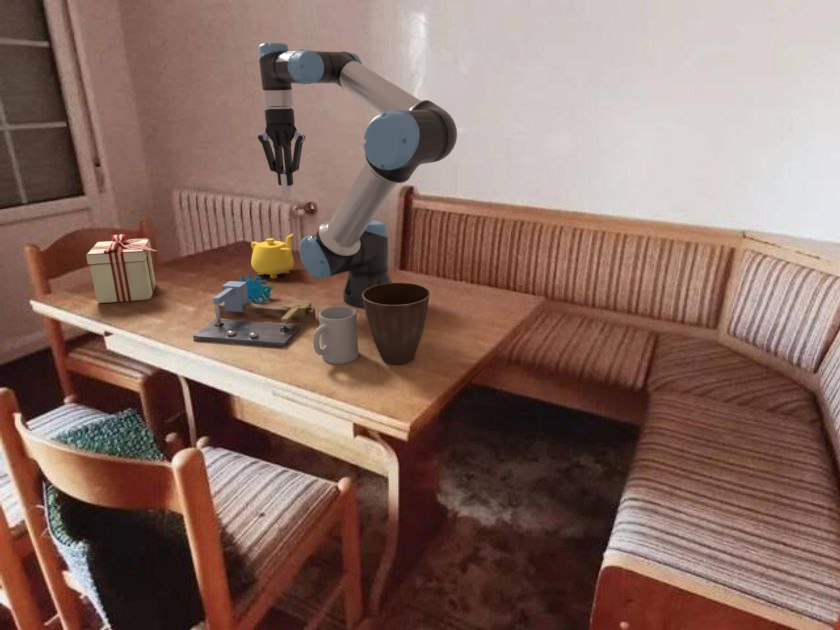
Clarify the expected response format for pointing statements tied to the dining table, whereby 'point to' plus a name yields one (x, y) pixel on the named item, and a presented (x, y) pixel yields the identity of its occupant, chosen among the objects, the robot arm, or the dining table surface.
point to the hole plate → (248, 333)
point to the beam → (267, 312)
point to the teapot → (272, 257)
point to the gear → (257, 289)
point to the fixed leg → (295, 311)
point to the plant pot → (396, 319)
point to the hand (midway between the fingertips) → (287, 197)
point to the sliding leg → (231, 298)
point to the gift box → (122, 269)
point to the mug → (337, 335)
